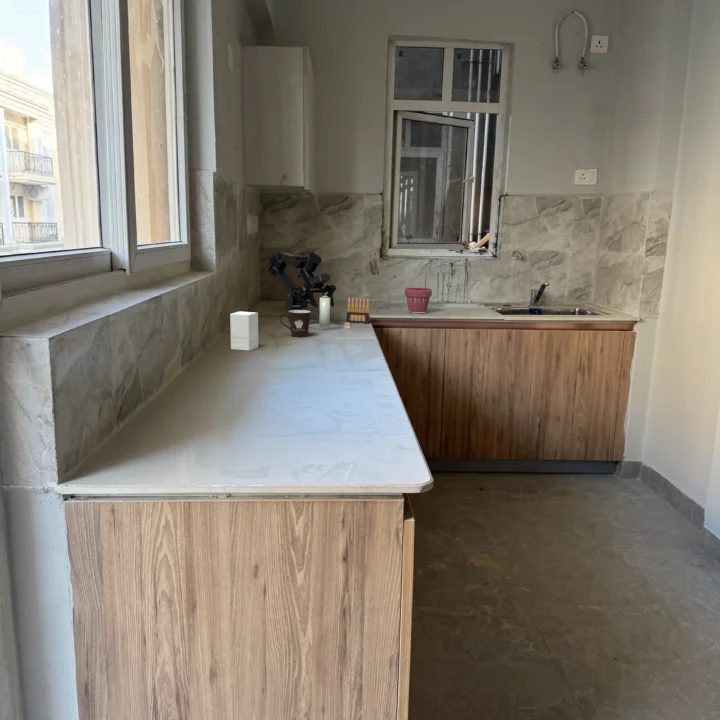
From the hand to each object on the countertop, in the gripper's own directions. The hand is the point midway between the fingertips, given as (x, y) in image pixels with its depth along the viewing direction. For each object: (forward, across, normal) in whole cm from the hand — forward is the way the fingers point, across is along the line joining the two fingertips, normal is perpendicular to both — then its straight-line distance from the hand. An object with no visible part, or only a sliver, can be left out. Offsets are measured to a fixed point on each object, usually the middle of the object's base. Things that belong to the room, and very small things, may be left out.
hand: (325, 306), depth 265 cm
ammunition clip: (+5, +22, +8) cm, 24 cm away
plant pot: (-1, +75, +15) cm, 77 cm away
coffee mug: (+14, -24, 0) cm, 27 cm away
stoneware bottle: (+6, 0, +6) cm, 8 cm away
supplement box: (+20, -55, -7) cm, 59 cm away
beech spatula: (+8, +12, +5) cm, 15 cm away
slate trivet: (+6, 0, +7) cm, 9 cm away
